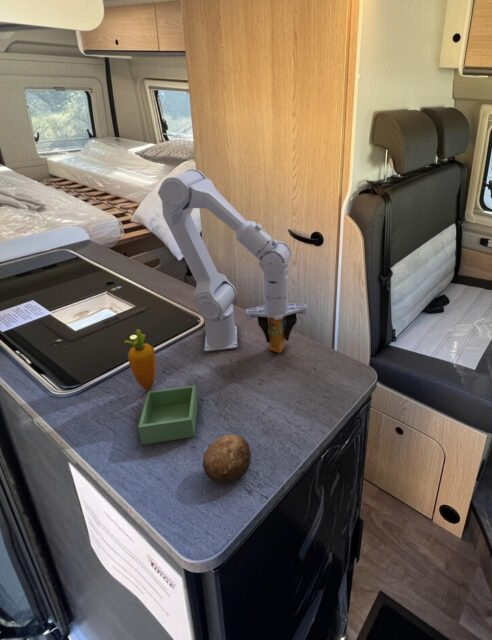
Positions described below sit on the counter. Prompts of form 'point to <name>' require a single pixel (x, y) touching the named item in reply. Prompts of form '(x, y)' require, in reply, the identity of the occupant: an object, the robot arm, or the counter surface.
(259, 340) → the counter surface
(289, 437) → the counter surface
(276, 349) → the supplement box
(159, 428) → the bin
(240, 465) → the brown oval lump
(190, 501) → the counter surface
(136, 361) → the carrot
